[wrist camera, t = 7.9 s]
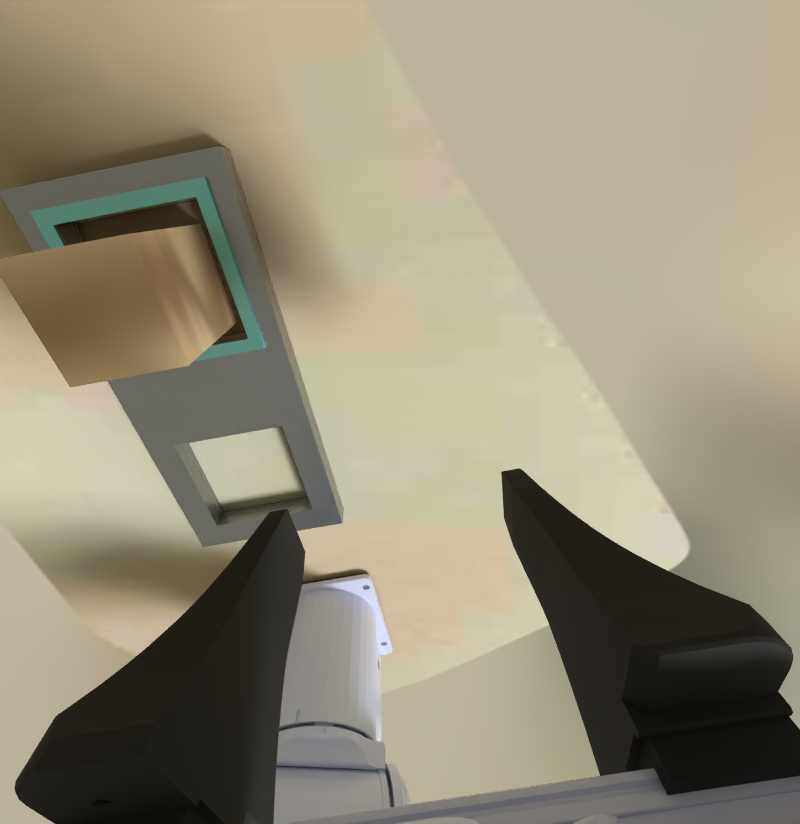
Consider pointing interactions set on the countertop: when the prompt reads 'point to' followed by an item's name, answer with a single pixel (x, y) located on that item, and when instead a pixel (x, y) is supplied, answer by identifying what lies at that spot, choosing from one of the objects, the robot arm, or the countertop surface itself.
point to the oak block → (123, 302)
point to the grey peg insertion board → (223, 361)
